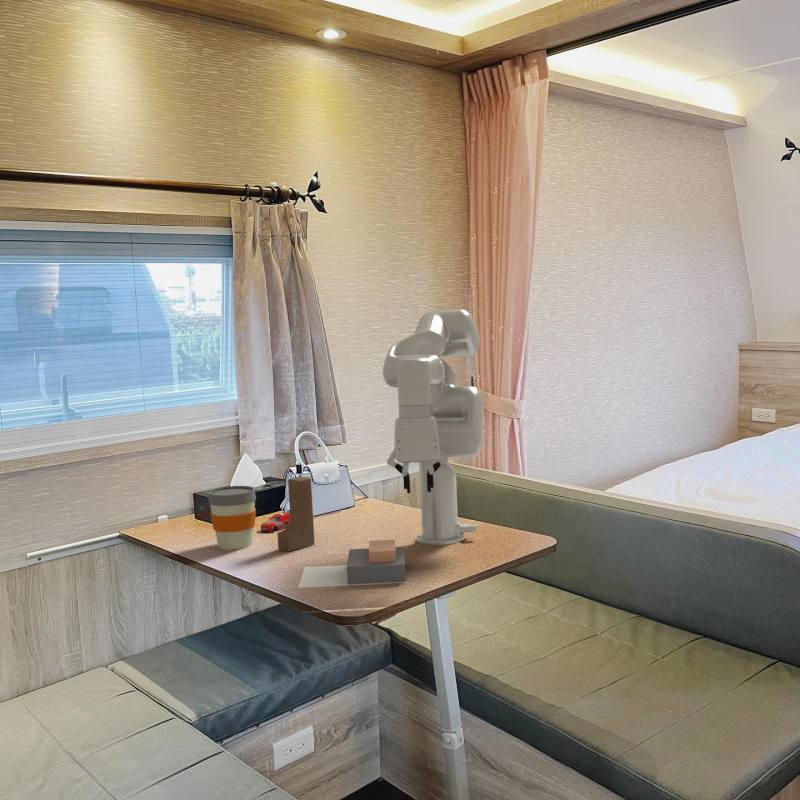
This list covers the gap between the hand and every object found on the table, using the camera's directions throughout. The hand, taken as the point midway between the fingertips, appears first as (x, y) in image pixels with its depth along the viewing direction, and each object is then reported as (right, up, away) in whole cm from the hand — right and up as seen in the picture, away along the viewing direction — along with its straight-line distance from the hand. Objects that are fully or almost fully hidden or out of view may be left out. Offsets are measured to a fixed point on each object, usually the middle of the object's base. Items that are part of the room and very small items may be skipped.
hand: (418, 490), depth 188 cm
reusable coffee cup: (-49, -19, +33) cm, 62 cm away
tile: (-8, -14, +1) cm, 16 cm away
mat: (-15, -20, +2) cm, 25 cm away
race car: (-39, -17, +50) cm, 66 cm away
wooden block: (-32, -18, +28) cm, 46 cm away
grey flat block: (-10, -19, +2) cm, 22 cm away
